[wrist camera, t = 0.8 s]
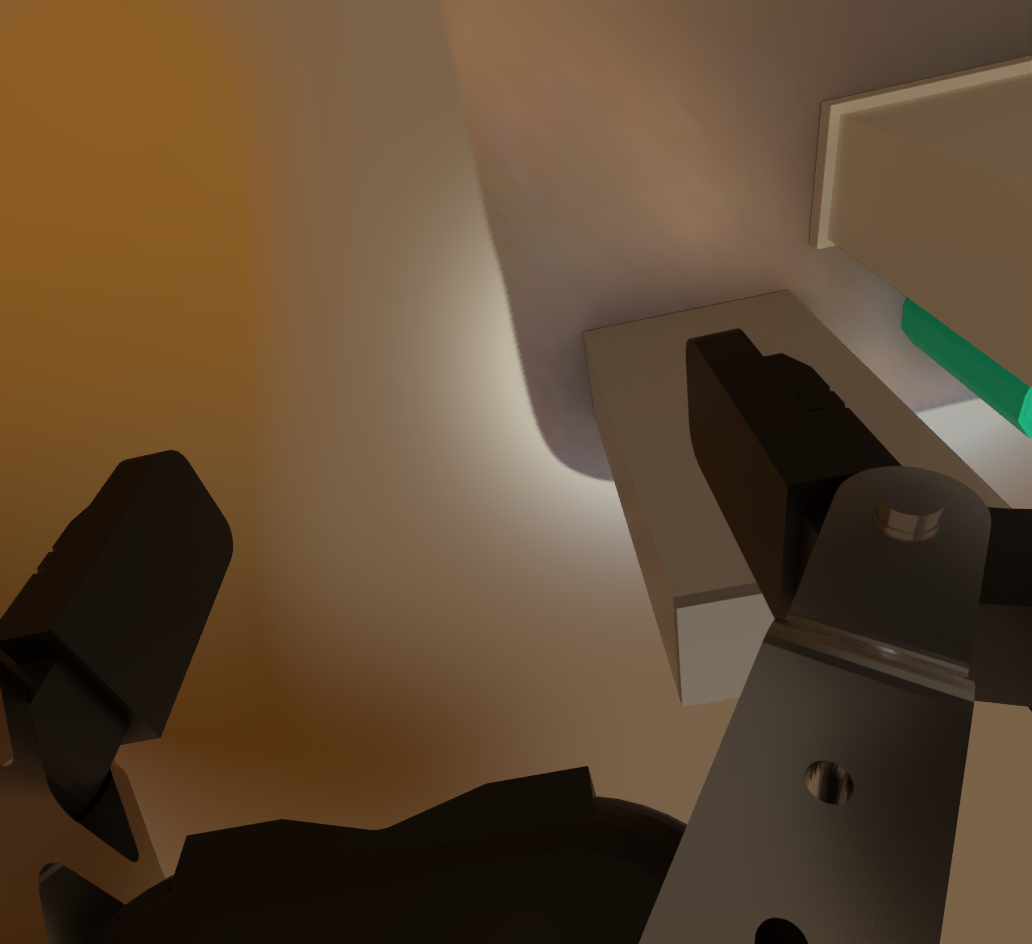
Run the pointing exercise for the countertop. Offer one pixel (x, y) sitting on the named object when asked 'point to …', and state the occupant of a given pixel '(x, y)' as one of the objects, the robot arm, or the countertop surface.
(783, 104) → the countertop surface
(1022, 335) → the tall stand
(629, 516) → the grey pedestal
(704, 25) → the countertop surface
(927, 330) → the candle
